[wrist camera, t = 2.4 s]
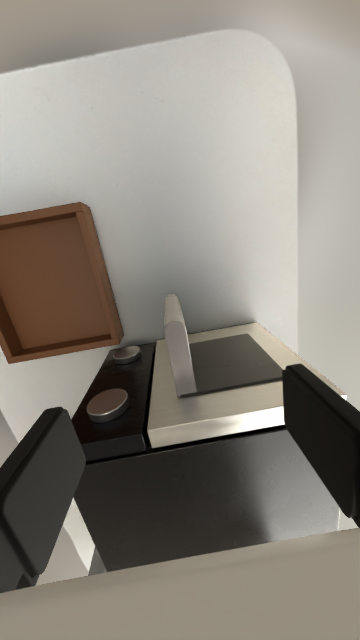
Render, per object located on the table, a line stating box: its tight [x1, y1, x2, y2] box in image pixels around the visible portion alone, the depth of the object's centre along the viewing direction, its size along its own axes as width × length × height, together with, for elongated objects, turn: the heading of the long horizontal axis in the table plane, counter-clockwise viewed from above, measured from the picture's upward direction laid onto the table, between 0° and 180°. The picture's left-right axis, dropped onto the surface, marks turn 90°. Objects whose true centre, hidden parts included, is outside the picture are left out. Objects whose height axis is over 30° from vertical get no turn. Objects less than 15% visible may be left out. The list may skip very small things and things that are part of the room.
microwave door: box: [147, 294, 347, 448], centre depth 22 cm, size 8×14×16 cm, turn 100°
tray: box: [0, 202, 124, 364], centre depth 26 cm, size 16×14×3 cm
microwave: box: [71, 343, 340, 572], centre depth 26 cm, size 22×20×16 cm
